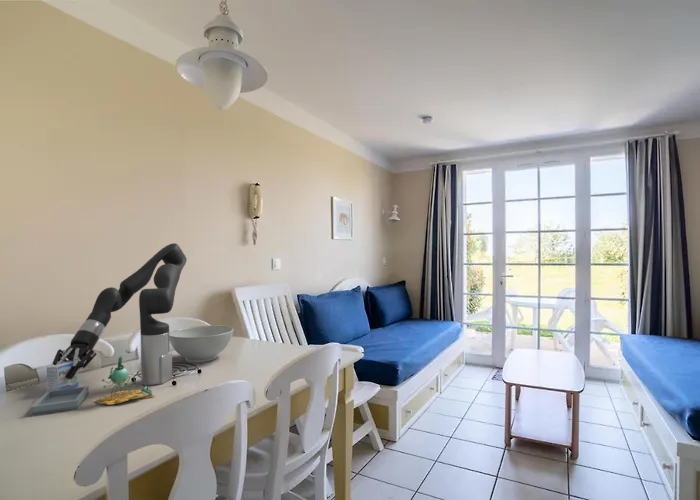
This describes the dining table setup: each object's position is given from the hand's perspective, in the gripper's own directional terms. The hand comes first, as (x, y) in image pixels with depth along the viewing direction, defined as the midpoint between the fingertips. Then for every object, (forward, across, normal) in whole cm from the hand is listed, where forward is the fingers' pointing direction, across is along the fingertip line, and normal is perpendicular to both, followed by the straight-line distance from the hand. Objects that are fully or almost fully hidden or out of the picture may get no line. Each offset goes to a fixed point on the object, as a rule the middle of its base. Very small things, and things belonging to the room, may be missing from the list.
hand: (60, 377), depth 129 cm
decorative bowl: (-26, -29, -32) cm, 50 cm away
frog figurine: (+8, -28, +2) cm, 29 cm away
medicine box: (+2, 0, -4) cm, 4 cm away
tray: (+11, -11, +5) cm, 16 cm away
